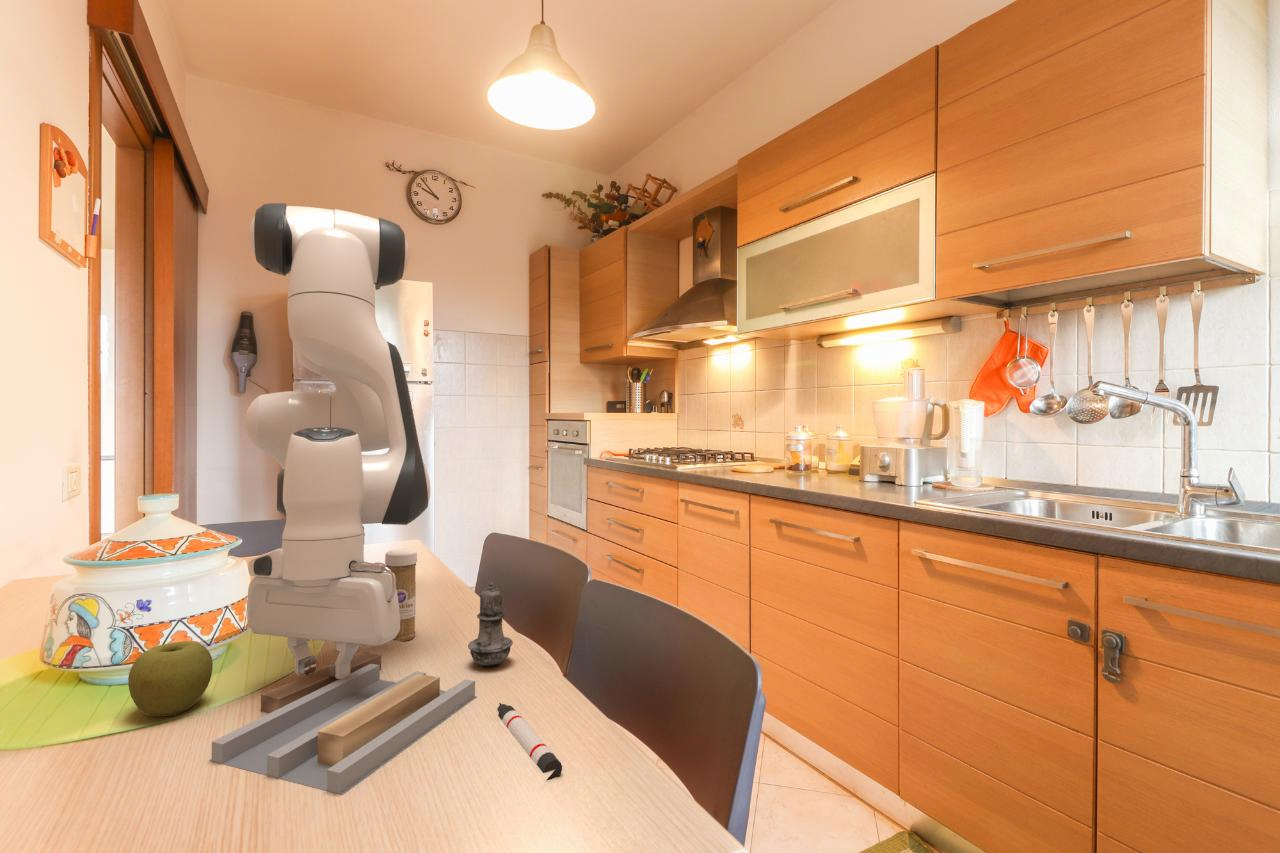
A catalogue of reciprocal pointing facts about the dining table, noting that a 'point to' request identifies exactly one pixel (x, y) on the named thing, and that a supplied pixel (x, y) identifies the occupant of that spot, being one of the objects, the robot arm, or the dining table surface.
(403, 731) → the slot board
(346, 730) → the oak rod
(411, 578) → the sprinkles bottle
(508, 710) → the marker
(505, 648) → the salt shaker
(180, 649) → the apple
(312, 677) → the walnut rod
